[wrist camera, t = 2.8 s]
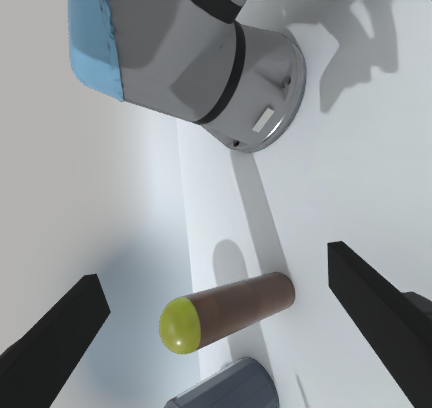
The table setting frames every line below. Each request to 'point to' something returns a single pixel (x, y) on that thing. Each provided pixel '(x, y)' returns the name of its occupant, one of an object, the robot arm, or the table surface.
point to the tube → (231, 389)
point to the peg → (222, 311)
